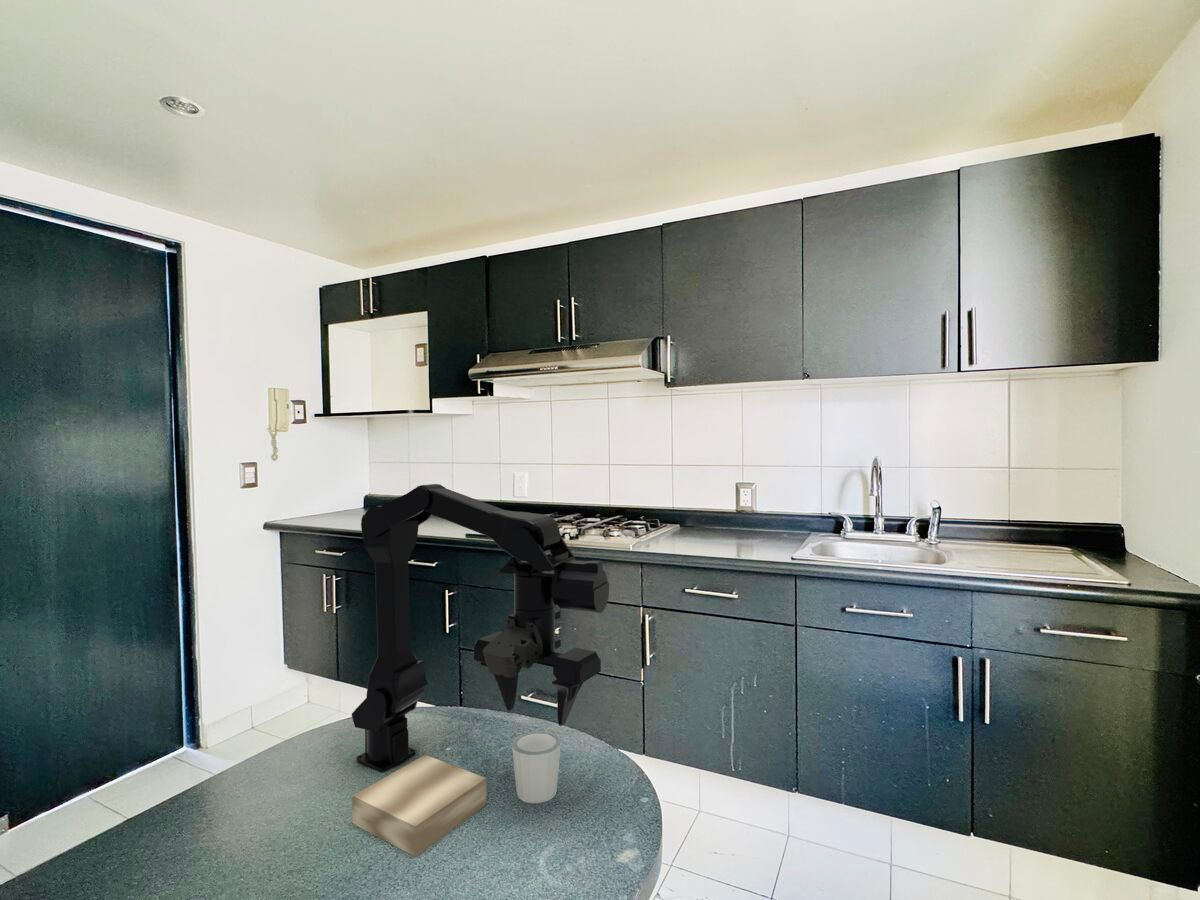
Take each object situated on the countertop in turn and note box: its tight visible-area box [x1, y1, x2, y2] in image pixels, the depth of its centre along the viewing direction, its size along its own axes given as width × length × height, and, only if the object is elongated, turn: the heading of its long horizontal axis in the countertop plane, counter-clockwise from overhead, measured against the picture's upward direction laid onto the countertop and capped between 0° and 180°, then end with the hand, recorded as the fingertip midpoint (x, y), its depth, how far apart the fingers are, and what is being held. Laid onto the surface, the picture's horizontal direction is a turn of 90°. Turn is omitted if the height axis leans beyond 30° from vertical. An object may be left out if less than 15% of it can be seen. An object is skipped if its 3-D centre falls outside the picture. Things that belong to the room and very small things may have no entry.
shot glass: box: [511, 730, 562, 804], centre depth 83 cm, size 7×7×7 cm
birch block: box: [351, 754, 487, 857], centre depth 78 cm, size 12×12×4 cm
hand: (535, 716), depth 83 cm, fingers open, 9 cm apart
